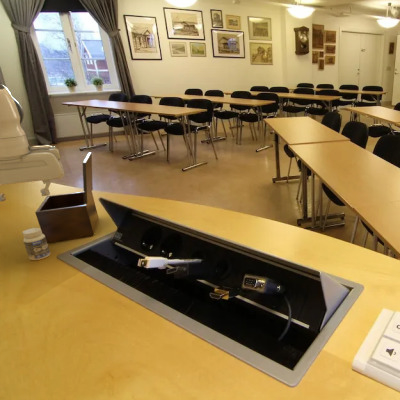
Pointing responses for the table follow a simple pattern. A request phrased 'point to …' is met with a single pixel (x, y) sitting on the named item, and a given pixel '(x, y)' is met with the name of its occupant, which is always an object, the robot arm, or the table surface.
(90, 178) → the lid
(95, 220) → the case
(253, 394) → the table surface
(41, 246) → the pill bottle
